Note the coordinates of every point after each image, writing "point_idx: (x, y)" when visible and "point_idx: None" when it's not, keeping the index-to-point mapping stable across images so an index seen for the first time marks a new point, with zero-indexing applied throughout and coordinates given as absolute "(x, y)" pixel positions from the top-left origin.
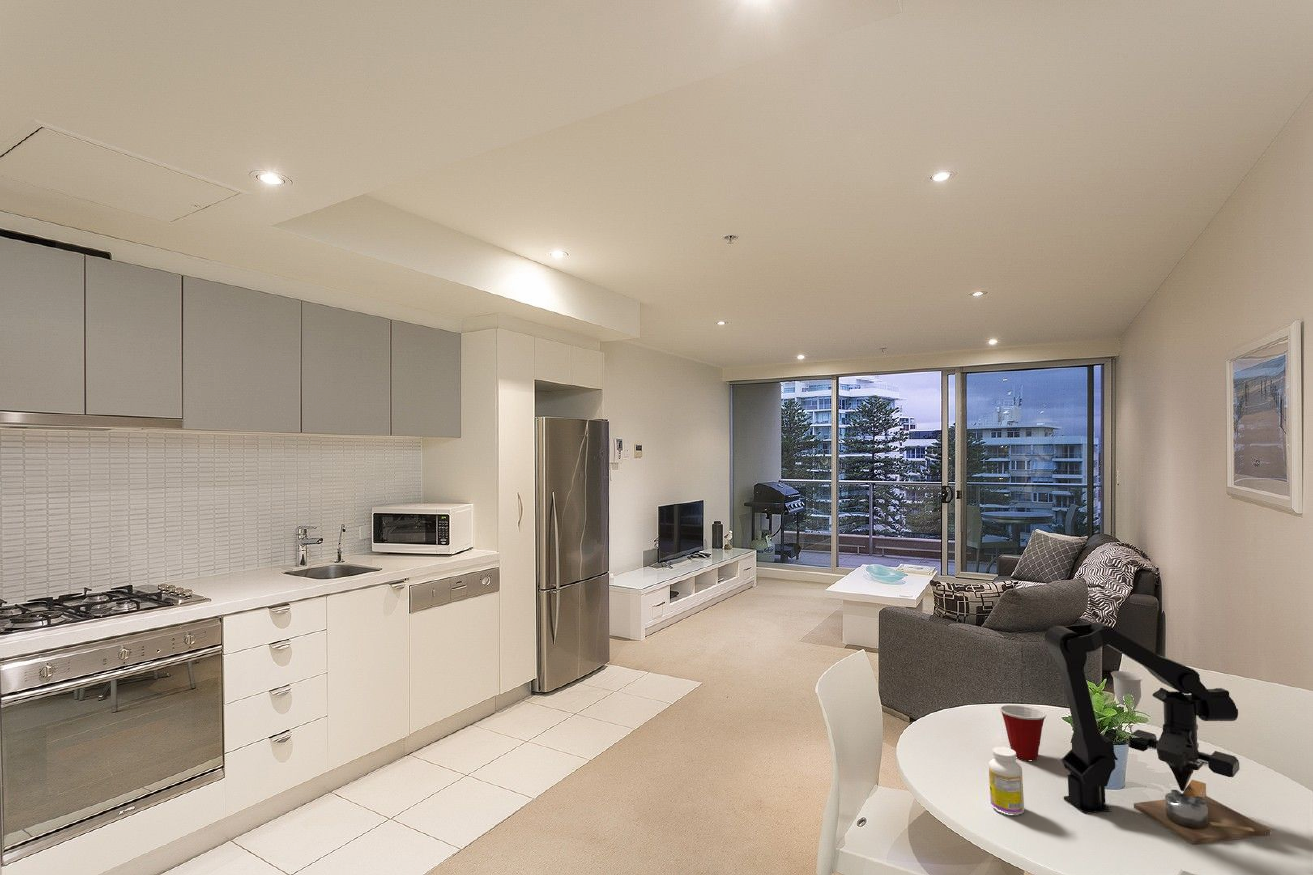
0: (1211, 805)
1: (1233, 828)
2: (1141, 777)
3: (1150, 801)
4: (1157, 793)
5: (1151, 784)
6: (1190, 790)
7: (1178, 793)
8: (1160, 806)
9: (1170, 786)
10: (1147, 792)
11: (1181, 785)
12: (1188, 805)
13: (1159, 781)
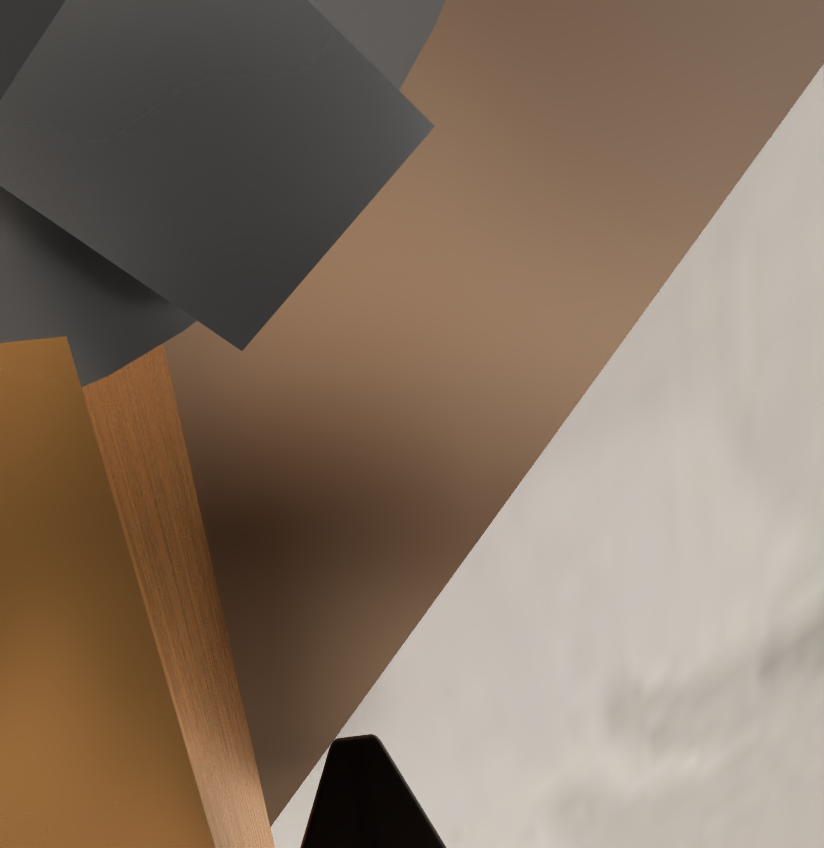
0: None
1: None
2: (803, 783)
3: (737, 170)
4: (644, 609)
5: (715, 736)
6: (48, 758)
7: (53, 40)
8: (562, 78)
9: (553, 825)
10: (747, 546)
11: (368, 837)
12: None
13: (653, 832)
